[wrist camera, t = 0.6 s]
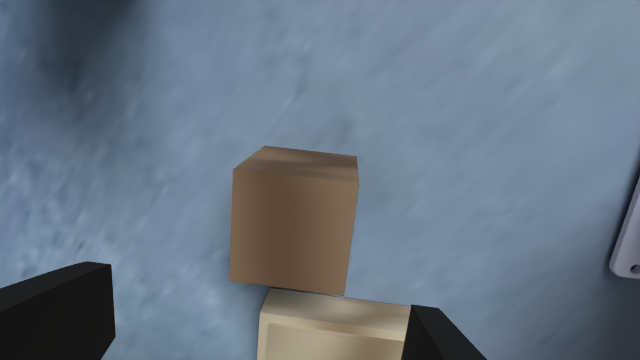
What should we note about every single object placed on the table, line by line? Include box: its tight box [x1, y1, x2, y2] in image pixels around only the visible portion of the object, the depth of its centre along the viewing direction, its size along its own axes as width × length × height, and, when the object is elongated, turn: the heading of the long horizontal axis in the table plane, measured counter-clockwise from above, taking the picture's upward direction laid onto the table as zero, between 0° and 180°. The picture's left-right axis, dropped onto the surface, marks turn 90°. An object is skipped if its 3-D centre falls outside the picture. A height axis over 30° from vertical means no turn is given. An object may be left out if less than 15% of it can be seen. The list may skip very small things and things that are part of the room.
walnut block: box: [229, 146, 359, 296], centre depth 16 cm, size 4×4×5 cm
